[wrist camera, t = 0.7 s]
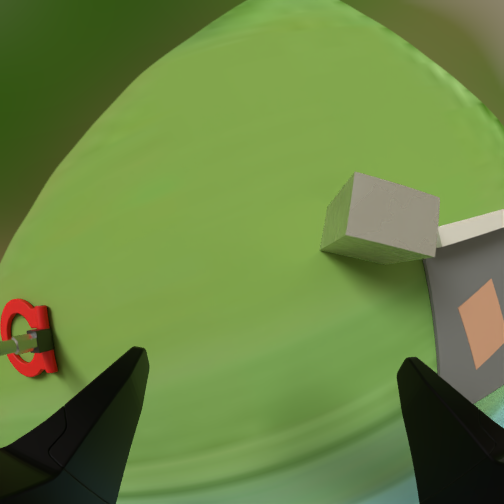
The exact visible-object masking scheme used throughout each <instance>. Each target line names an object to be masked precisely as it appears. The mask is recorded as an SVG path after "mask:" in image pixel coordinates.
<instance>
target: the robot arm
mask: <svg viewBox="0 0 504 504" xmlns="http://www.w3.org/2000/svg"><path fill="white" fill-rule="evenodd" d="M148 374H149V361H148V357H147V352H146V350H145V348H142V347H136V346H134V347H132V348H131V349H129V350H128V351H127V352H126V353H125V354H124V355H122V356H121V357H120V358H119V359H118V360H116V361H115V362H114V363H113V364H112V365H111V366H109V367H108V368H107V369H106V370H105V371H104V372H102V373H101V374H100V375H99V376H98V377H97V378H95V379H94V380H93V381H92V382H91V383H90V384H88V385H87V386H86V387H85V388H84V389H83V390H81V391H80V392H79V393H78V394H77V395H76V396H74V397H73V398H72V399H71V400H70V401H69V402H67V403H66V404H65V405H64V406H63V407H61V408H60V409H59V410H58V411H57V412H56V413H54V414H53V415H52V416H51V417H49V418H48V419H47V420H46V421H44V422H43V423H41V424H40V425H39V426H37V427H36V428H34V429H33V430H31V431H30V432H28V433H27V434H25V435H24V436H22V437H21V438H19V439H18V440H16V441H15V442H13V443H11V444H10V445H8V446H6V447H3V448H0V504H116V501H117V497H118V493H119V489H120V485H121V481H122V477H123V473H124V470H125V466H126V462H127V459H128V455H129V451H130V448H131V444H132V441H133V437H134V434H135V431H136V427H137V424H138V421H139V417H140V414H141V410H142V406H143V401H144V395H145V389H146V384H147V379H148ZM397 383H398V389H399V396H400V403H401V409H402V415H403V419H404V423H405V428H406V432H407V437H408V441H409V446H410V451H411V456H412V461H413V466H414V471H415V477H416V483H417V489H418V496H419V502H420V504H504V428H502V427H501V426H499V425H498V424H497V423H495V422H494V421H493V420H492V419H490V418H489V417H488V416H487V415H485V414H484V413H483V412H482V411H481V410H480V409H479V410H478V408H477V407H476V406H475V405H474V404H472V403H471V402H470V401H469V400H468V399H467V398H465V397H464V396H463V395H462V394H461V393H459V392H458V391H457V390H456V389H455V388H453V387H452V386H451V385H450V384H449V383H447V382H446V381H445V380H444V379H443V378H441V377H440V376H439V375H438V374H437V373H435V372H434V371H433V370H432V369H431V368H429V367H428V366H427V365H426V364H424V363H423V362H422V361H421V360H420V359H418V358H417V357H408V358H406V359H405V360H404V362H403V364H402V365H401V367H400V369H399V371H398V373H397Z"/></svg>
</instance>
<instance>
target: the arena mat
mask: <svg viewBox="0 0 504 504" xmlns="http://www.w3.org/2000/svg"><path fill="white" fill-rule="evenodd" d="M423 263H424V268H425V273H426V279H427V284H428V290H429V296H430V302H431V309H432V316H433V324H434V333H435V343H436V354H437V370H438V375H439V376H440V377H441V378H443V379H444V380H445V381H446V382H447V383H449V384H450V385H451V386H452V387H453V388H455V389H456V390H457V391H458V392H459V393H461V394H462V395H463V396H464V397H465V398H467V399H468V400H469V401H470V402H471V403H472V404H474V403H476V402H477V401H479V400H481V399H482V398H484V397H485V396H487V395H489V394H490V393H492V392H493V391H495V390H496V389H498V388H499V387H501V386H502V385H504V227H503V228H500V229H497V230H494V231H491V232H488V233H485V234H482V235H479V236H475V237H472V238H469V239H466V240H463V241H460V242H456V243H453V244H450V245H447V246H443V247H439V248H436V252H435V257H433V258H426V259H423Z"/></svg>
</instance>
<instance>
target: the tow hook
mask: <svg viewBox="0 0 504 504" xmlns="http://www.w3.org/2000/svg"><path fill="white" fill-rule="evenodd" d="M17 313H19V314H21V315H22V316H24V317H25V319H26V320H27V321H28V323H29V325H30V327H31V328H37V329H35V330H28V331H27V334H24V335H18V336H13V337H12V338H11V323H12V320H13V318H14V316H15V315H16V314H17ZM0 326H1V337H2V341H0V356H2V355H6V354H7V356H8V358H9V360H10V362H11V363H12V364H13V366H14V367H15V368H16V369H17V370H18V371H19V372H20V373H21V374H23V375H25V376H27V377H34V376H36V375H39V374H41V373H42V372H43V370H46V372H47V373H54V372H57V371H58V368H57V364H56V359H55V354H54V344H53V339H52V333H51V329H50V327H49V320H48V313H47V306H44V305H41V306H35V307H33V306H32V305H31V304H30V303H28V302H27V301H26V300H23V299H13V300H11V301H9V302H8V303H7V304H6V306H5V307H4V309H3V313H2V316H1V325H0ZM27 352H31V353H35V355H34V358H33V360H32V361H31V362H30V363H29V362H26V361H24V360H23V359H22V358H21V357H20V356H19V355H18V354H23V353H27Z"/></svg>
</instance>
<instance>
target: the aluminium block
mask: <svg viewBox="0 0 504 504" xmlns="http://www.w3.org/2000/svg"><path fill="white" fill-rule="evenodd" d="M439 205H440V198H439V197H436V196H433V195H430V194H427V193H424V192H421V191H418V190H415V189H412V188H409V187H406V186H403V185H400V184H396V183H393V182H390V181H387V180H383V179H380V178H376V177H373V176H369V175H365V174H362V173H358V172H354V173H353V175H352V176H351V177H350V178H349V180H348V181H347V182H346V184H345V185H344V186H343V187H342V189H341V190H340V191H339V193H338V194H337V195H336V196H335V198H334V199H333V200H332V201H331V203H330V204H329V205H328V207H327V211H326V217H325V223H324V228H323V234H322V239H321V245H320V250H321V251H325V252H330V253H334V254H339V255H343V256H348V257H352V258H357V259H361V260H366V261H370V262H374V263H379V264H383V265H385V264H392V263H399V262H406V261H413V260H420V259H426V258H433V257H435V252H436V243H437V233H438V221H439Z"/></svg>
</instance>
